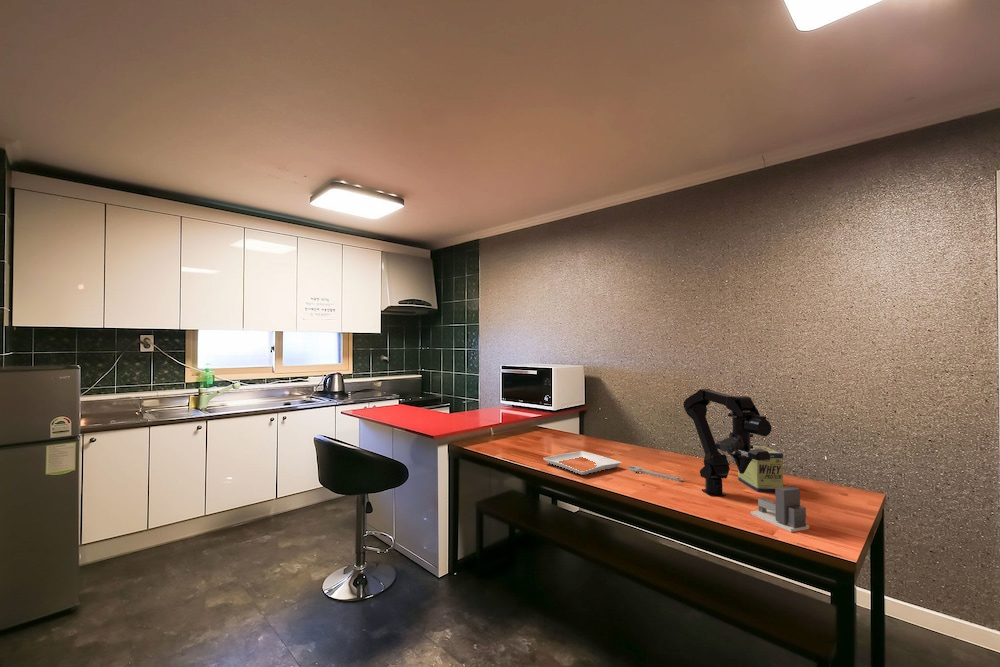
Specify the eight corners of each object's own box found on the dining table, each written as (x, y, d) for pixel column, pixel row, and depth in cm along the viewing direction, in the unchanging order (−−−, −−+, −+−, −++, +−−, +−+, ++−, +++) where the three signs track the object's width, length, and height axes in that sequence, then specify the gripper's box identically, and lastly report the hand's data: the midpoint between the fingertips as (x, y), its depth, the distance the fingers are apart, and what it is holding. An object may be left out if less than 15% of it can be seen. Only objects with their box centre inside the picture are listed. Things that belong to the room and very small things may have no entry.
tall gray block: (775, 520, 137) (775, 487, 137) (791, 517, 139) (791, 485, 139) (784, 524, 134) (783, 490, 135) (800, 521, 136) (799, 488, 137)
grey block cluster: (755, 511, 145) (755, 494, 146) (766, 509, 147) (766, 492, 147) (794, 528, 132) (794, 509, 132) (805, 526, 134) (805, 507, 134)
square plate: (622, 469, 199) (622, 461, 199) (582, 479, 183) (582, 470, 183) (581, 456, 221) (581, 449, 221) (542, 464, 205) (542, 456, 206)
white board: (750, 514, 145) (750, 511, 145) (768, 511, 148) (768, 508, 148) (790, 532, 132) (790, 528, 132) (809, 529, 134) (809, 525, 134)
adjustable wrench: (683, 482, 181) (683, 478, 181) (676, 485, 177) (676, 481, 177) (632, 468, 200) (632, 465, 200) (625, 471, 196) (625, 467, 196)
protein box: (757, 492, 168) (757, 453, 168) (737, 479, 183) (737, 444, 184) (784, 492, 167) (783, 453, 168) (761, 480, 183) (761, 444, 183)
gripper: (704, 427, 160) (704, 468, 159) (746, 437, 142) (746, 483, 141) (727, 425, 163) (727, 465, 163) (771, 435, 145) (771, 480, 145)
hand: (741, 473), depth 153 cm, fingers closed
